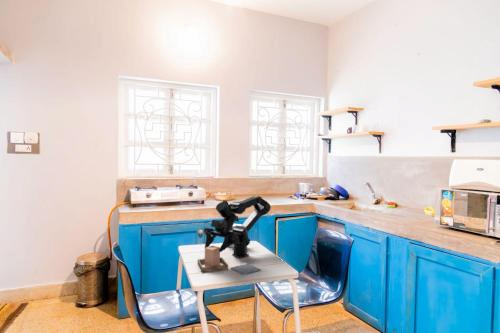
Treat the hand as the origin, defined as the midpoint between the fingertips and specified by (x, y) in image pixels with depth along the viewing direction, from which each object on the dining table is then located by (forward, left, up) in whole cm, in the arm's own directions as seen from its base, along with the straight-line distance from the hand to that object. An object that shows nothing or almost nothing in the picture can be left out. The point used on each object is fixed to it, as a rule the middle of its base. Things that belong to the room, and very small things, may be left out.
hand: (212, 250), depth 150 cm
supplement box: (-29, -22, -8) cm, 37 cm away
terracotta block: (0, 0, -8) cm, 8 cm away
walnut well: (0, 0, -8) cm, 8 cm away
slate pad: (-10, +13, -8) cm, 18 cm away
